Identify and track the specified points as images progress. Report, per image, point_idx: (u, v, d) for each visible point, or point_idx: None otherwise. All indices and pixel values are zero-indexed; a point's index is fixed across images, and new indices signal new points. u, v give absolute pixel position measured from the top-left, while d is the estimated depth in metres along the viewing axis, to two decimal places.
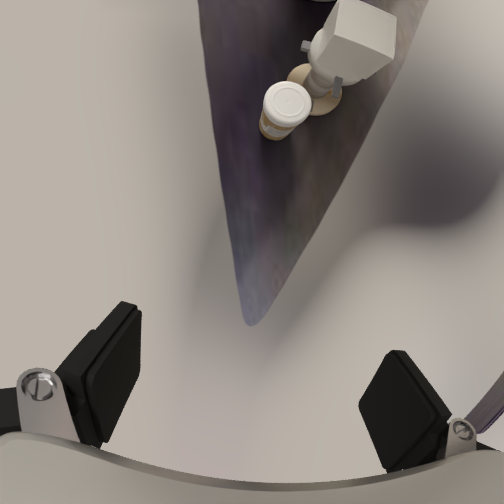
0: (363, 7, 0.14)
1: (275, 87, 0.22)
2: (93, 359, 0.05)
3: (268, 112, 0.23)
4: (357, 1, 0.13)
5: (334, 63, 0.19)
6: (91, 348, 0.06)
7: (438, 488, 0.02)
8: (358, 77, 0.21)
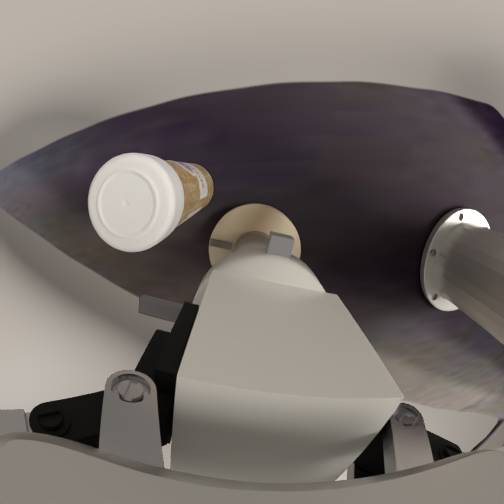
0: (344, 448, 0.05)
1: (155, 174, 0.11)
2: (181, 356, 0.06)
3: (105, 164, 0.11)
4: (369, 435, 0.05)
5: None
6: (175, 346, 0.07)
7: (438, 488, 0.02)
8: None
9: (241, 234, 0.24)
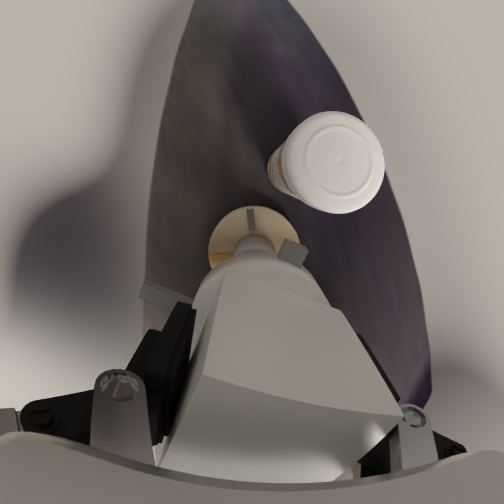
0: (339, 459, 0.05)
1: (373, 186, 0.11)
2: (170, 355, 0.06)
3: (368, 127, 0.10)
4: (364, 449, 0.05)
5: (209, 311, 0.10)
6: (165, 346, 0.07)
7: (438, 488, 0.02)
8: None
9: (266, 235, 0.24)
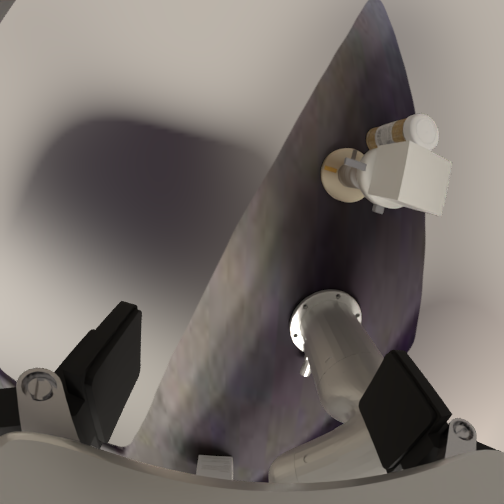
0: (443, 181, 0.19)
1: (434, 145, 0.25)
2: (93, 359, 0.05)
3: None
4: (448, 176, 0.18)
5: (379, 159, 0.23)
6: (91, 348, 0.06)
7: (438, 488, 0.02)
8: (368, 186, 0.25)
9: None
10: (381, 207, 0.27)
